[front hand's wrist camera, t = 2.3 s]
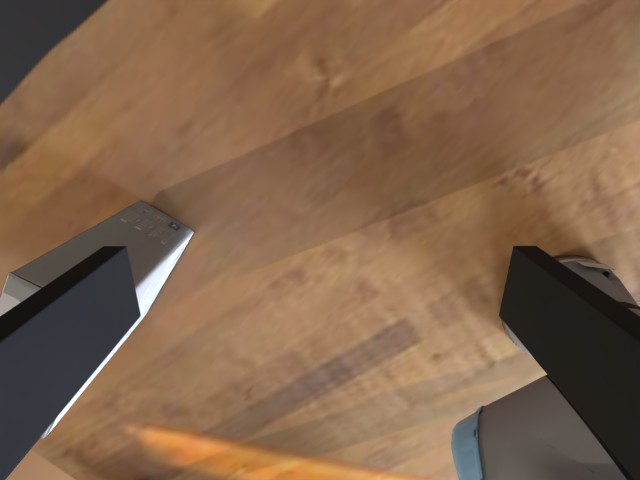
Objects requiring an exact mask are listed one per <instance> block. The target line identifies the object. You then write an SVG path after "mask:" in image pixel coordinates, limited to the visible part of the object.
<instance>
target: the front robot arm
mask: <svg viewBox="0 0 640 480" xmlns="http://www.w3.org/2000/svg"><path fill="white" fill-rule="evenodd" d="M609 269H612V268H610V267H609V266H607V265H604V264H600V263H598V262H596V261H594V260H592V259H590V258H586V257H582V256H560V257H555V258H553V257H552V256H550V255H549V254H547V253H546V252H544V251H543V250H541V249H540V248H538V247H537V246H514V247H513V251H512V256H511V261H510V266H509V270H508V275H507V280H506V285H505V290H504V294H503V299H502V304H501V309H500V313H499V316H500V318H501V319H502V324H503V327H504V330H505V331H506V333H507V335H508V336H509V337H510V339H511V340H512V341H513V342H514V343H515V345H516V346H518V347H519V348H520V349H521V350H522V351H524V352H525V353H527V354H528V355H531V356H533V357H534V359H535V360H536V361H537V362H538V363H539V365H540V366H541V367H542V368H543V369H544V371H545V372H546V373H547V374H548V375H545V376H543V377H541V378H540V379H538V380H536V381H534V382H532V383H530V384H528V385H526V386H524V387H522V388H520V389H518V390H516V391H514V392H512V393H510V394H508V395H506V396H504V397H502V398H500V399H498V400H496V401H495V402H493V403H491V404H489V405H487V406H481V407H480V408H478V410H477V411H476V412H475V413H473V414H472V415H470V416H468V417H467V418H465V419H463V420H461V421H460V422H459V423H457V424H456V426H455V427H454V429H453V433H452V441H451V446H452V454H453V459H454V463H455V467H456V471H457V474H458V478H459V480H640V307H639V306H638V304H637V303H636V302H635V300H634V299H633V297H632V296H631V295H630V293H629V292H628V291H627V289H626V288H625V286H624V285H623V284H622V282H621V281H620V280H619V278H618V277H617V276H616V275H615V274H614V273H613V272H612V271H611V270H609ZM612 270H614V269H612ZM140 316H141V313H140V309H139V304H138V299H137V294H136V290H135V285H134V280H133V275H132V270H131V266H130V261H129V256H128V251H127V247H126V246H103V247H102V248H100V249H99V250H97V251H96V252H94V253H93V254H91V255H90V256H88V257H87V258H86V259H84V260H83V261H81V262H80V263H78V264H77V265H75V266H74V267H72V268H71V269H69V270H68V271H66V272H65V273H63V274H62V275H60V276H59V277H57V278H56V279H55V280H53V281H52V282H50V283H49V284H47V285H46V286H44V287H43V288H41V289H40V290H38V291H37V292H35V293H34V294H32V295H31V296H29V297H28V298H26V299H25V300H24V301H22V302H21V303H19V304H18V305H16V306H15V307H13V308H12V309H10V310H9V311H7V312H6V313H4V314H3V315H1V316H0V480H5V479H6V478H7V477H8V476H9V475H10V473H11V472H12V471H13V470H14V468H15V467H16V466H17V465H18V464H19V462H20V461H21V460H22V459H23V458H24V456H25V455H26V454H27V453H28V452H29V450H30V449H31V448H32V447H33V446H34V444H35V443H36V442H37V441H38V440H39V438H40V437H41V436H42V435H43V433H44V432H45V431H46V430H47V429H48V427H49V426H50V425H51V424H52V423H53V421H54V420H55V419H56V418H57V417H58V415H59V414H60V413H61V412H62V411H63V409H64V408H65V407H66V406H67V404H68V403H69V402H70V401H71V400H72V398H73V397H74V396H75V395H76V394H77V392H78V391H79V390H80V389H81V388H82V386H83V385H84V384H85V383H86V382H87V380H88V379H89V378H90V377H91V376H92V374H93V373H94V372H95V371H96V369H97V368H98V367H99V366H100V365H101V363H102V362H103V361H104V360H105V359H106V357H107V356H108V355H109V354H110V353H111V351H112V350H113V349H114V348H115V347H116V345H117V344H118V343H119V342H120V341H121V339H122V338H123V337H124V336H125V334H126V333H127V332H128V331H129V330H130V328H131V327H132V326H133V325H134V324H135V322H136V321H137V320H138V319H139V318H140Z"/></svg>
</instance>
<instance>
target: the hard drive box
mask: <svg viewBox="0 0 640 480" xmlns="http://www.w3.org/2000/svg"><path fill="white" fill-rule="evenodd" d="M192 234H193V231H192V229H190V228H188V227H187V226H185V225H183V224H182V223H180V222H178V221H176V220H175V219H173V218H171V217H169V216H167V215H166V214H164V213H162V212H160V211H159V210H157V209H155V208H153V207H152V206H150V205H148V204H146V203H145V202H143V201H138V202H137V203H135V204H133V205H131V206H129V207H128V208H126V209H124V210H122V211H120V212H119V213H117V214H115V215H113V216H111V217H110V218H108V219H106V220H104V221H103V222H101V223H99V224H97V225H96V226H94V227H92V228H90V229H88V230H87V231H85V232H83V233H81V234H80V235H78V236H76V237H74V238H73V239H71V240H69V241H67V242H65V243H64V244H62V245H60V246H58V247H57V248H55V249H53V250H51V251H49V252H48V253H46V254H44V255H42V256H40V257H39V258H37V259H35V260H33V261H31V262H30V263H28V264H26V265H24V266H22V267H21V268H19V269H17V270H15V271H13V272H9V274H8V277H7V280H6V283H5V286H4V288H3V290H2V292H1V295H0V316H1V315H3V314H4V313H6V312H7V311H9V310H10V309H12V308H13V307H15V306H16V305H18V304H19V303H21V302H22V301H24V300H25V299H26V298H28V297H29V296H31V295H32V294H34V293H35V292H37V291H38V290H40V289H41V288H43V287H44V286H46V285H47V284H49V283H50V282H52V281H53V280H55V279H56V278H57V277H59V276H60V275H62V274H63V273H65V272H66V271H68V270H69V269H71V268H72V267H74V266H75V265H77V264H78V263H80V262H81V261H83V260H84V259H86V258H87V257H88V256H90V255H91V254H93V253H94V252H96V251H97V250H99V249H100V248H102V247H103V246H126V247H127V251H128V256H129V261H130V266H131V270H132V275H133V280H134V285H135V290H136V294H137V299H138V304H139V309H140V313H141V316H140V318H139V319H138V320H137V321H136V322H135V324H134V325H133V326H132V327H131V328H130V330H129V331H128V332H127V333H126V334H125V336H124V337H123V338H122V339H121V341H120V342H119V343H118V344H117V345H116V347H115V348H114V349H113V350H112V351H111V353H110V354H109V355H108V356H107V357H106V359H105V360H104V361H103V362H102V363H101V365H100V366H99V367H98V368H97V369H96V371H95V372H94V373H93V374H92V376H91V377H90V378H89V379H88V380H87V382H86V383H85V384H84V385H83V386H82V388H81V389H80V390H79V391H78V392H77V394H76V395H75V396H74V397H73V398H72V400H71V401H70V402H69V403H68V404H67V406H66V407H65V408H64V409H63V411H62V412H61V413H60V414H59V415H58V417H57V418H56V419H55V420H54V421H53V423H52V424H51V425H50V426H49V427H48V429H47V430H46V431H45V432H44V433H43V435H42V436H41V437H40V438H44V437H46V436H47V435H48V434H49V433H50V431H51V430H52V429H53V428H54V426H55V425H56V424H57V423H58V421H59V420H60V419H61V418H62V417H63V415H64V414H65V413H66V412H67V410H68V409H69V408H70V407H71V405H72V404H73V403H74V402H75V401H76V399H77V398H78V397H79V396H80V394H81V393H82V392H83V391H84V390H85V388H86V387H87V386H88V385H89V383H90V382H91V381H92V380H93V379H94V377H95V376H96V375H97V374H98V373H99V371H100V370H101V369H102V368H103V366H104V365H105V364H106V363H107V362H108V360H109V359H110V358H111V357H112V356H113V354H114V353H115V352H116V351H117V349H118V348H119V347H120V346H121V345H122V343H123V342H124V341H125V340H126V338H127V337H128V336H129V335H130V334H131V332H132V331H133V330H134V329H135V327H136V326H137V325H138V324H139V323H140V321H141V320H142V319H143V318H144V316H145V315H146V313H147V312H148V310H149V308H150V306H151V304H152V303H153V301H154V300H155V298H156V296H157V294H158V293H159V291H160V289H161V287H162V286H163V284H164V282H165V281H166V279H167V277H168V276H169V274H170V272H171V270H172V269H173V267H174V265H175V264H176V262H177V260H178V259H179V257H180V255H181V254H182V252H183V250H184V248H185V247H186V245H187V243H188V241H189V240H190V238H191V236H192Z"/></svg>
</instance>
